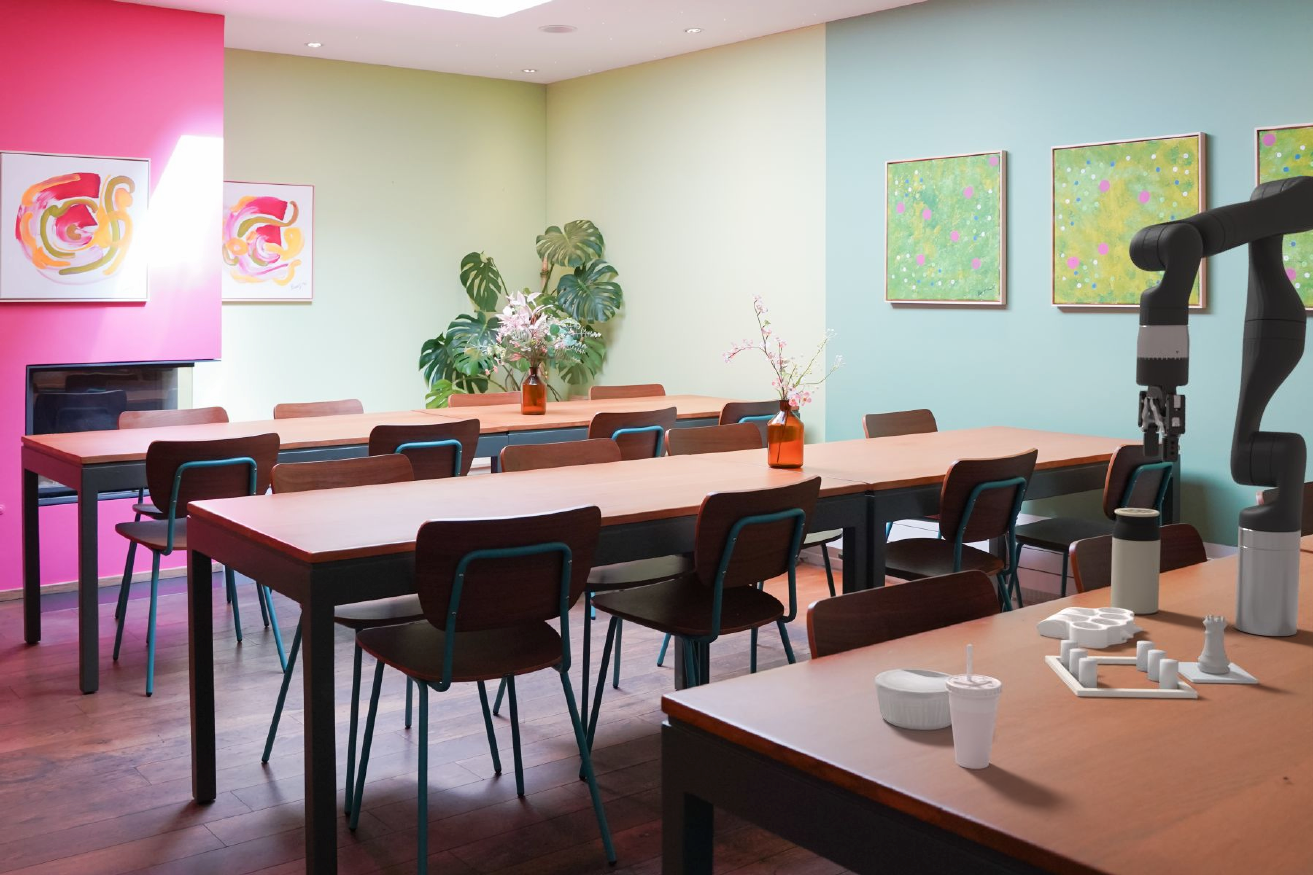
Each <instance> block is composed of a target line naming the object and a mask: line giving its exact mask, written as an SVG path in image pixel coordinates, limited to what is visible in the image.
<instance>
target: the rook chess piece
mask: <svg viewBox="0 0 1313 875" xmlns="http://www.w3.org/2000/svg"><path fill="white" fill-rule="evenodd" d="M1214 616H1215V615H1214V614H1209V615H1208V614H1207V615H1205V619H1204V620H1203V621H1202V623H1203V626H1205V631H1204V635H1205V642H1204V646H1203V649H1202V651H1201V653H1200V655H1199V656H1198V658H1197V661H1198V662H1199V663H1200V664H1198V665H1197V667H1198V669H1199V670H1200V671H1202V672H1205V673H1209V674H1227V673H1228V672H1229V671H1230V668H1229V667H1228V665H1229V664H1230V663H1231V661H1230V659H1229V657H1228V655H1227V653H1226V650H1225V643H1224V641H1225V640H1224V639H1225V636H1226V633H1225V628H1226V627H1227V626H1228V623H1227V621H1226V617H1225V616H1221V615H1218V614H1217V615H1216V617H1214Z"/></svg>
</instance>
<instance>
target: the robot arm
mask: <svg viewBox="0 0 1313 875" xmlns="http://www.w3.org/2000/svg"><path fill="white" fill-rule="evenodd" d="M1312 230H1313V175H1298V176H1291V177H1286V178H1282V179H1276V180H1269V181H1266V182H1262V183H1260V184H1259V185H1257V186H1256V187H1255V188H1254V190H1253V191H1252V193H1251V195H1250V197H1249V200H1248V201H1242V202H1238V203H1231V204H1227V205H1223V206H1218V207H1215V208H1210V209H1208V210H1205V211H1201V212H1199V213H1195V214H1194V215H1191V216H1189V217H1185V218H1182V219H1177V220H1176V219H1175V220H1171V221H1166V222H1161V223H1160V222H1159V223H1156V224H1152V225H1148V226H1145V227H1143V228H1141V229H1140V230H1139V231H1138V232H1136V233H1135V234H1134V236H1133V237H1132V239H1131V240H1130V244H1129V247H1128V252H1129V253H1128V255H1129V257H1130V260H1131V261H1132V264H1133V265H1134V266H1136V267H1137V268H1138V269H1140V270H1142V271H1144V272H1164V273H1163V275H1162V278H1161V280H1160V283H1158V284H1157V285H1155V286H1152V287H1149V288H1146V289H1144V290H1142V292H1141V294H1140V298H1139V315H1138V316H1139V317H1138V319H1139V320H1138V321H1139V322H1138V333H1137V334H1138V335H1137V340H1136V375H1135V384H1137V386H1140V387H1141V386H1142V387H1147V390H1140V391H1139V393H1138V417H1137V426H1138V428H1140V429H1141V432H1142V433H1143V437H1142V438H1143V440H1142V441H1143V443H1142V444H1143V446H1142V454H1143V456H1144V457H1146V458H1147V457H1151V458H1152V457H1154V458H1155V457H1158V456H1159V453H1160V451H1159V450H1160V449H1159V448H1160V447H1159V446H1160V432H1161V436H1162V438H1161V457H1160V458H1161V461H1162V462H1164V463H1177V462H1178V460H1179V438H1181V435H1185V434H1186V408H1187V407H1186V406H1187V405H1186V403H1187V402H1186V394H1177V387H1184V386H1187V385H1188V384H1189V375H1190V373H1189V372H1190V346H1191V345H1190V342H1191V341H1190V339H1191V338H1190V333H1189V332H1190V331H1189V330H1190V329H1189V314H1190V313H1189V312H1190V297H1191V293H1192V291H1193V288H1194V284H1195V282H1196V278H1197V274H1198V271H1199V268H1200V265H1201V262H1202V259H1205V258H1209V257H1213V256H1215V255H1218V254H1222V253H1224V252H1227V251H1231V250H1233V249H1235V248H1237V247H1240V246H1244V245H1246V244H1247V248H1248V249H1247V250H1248V273H1247V288H1246V289H1247V290H1246V292H1247V293H1246V306H1245V313H1244V315H1245V316H1244V320H1243V321H1244V322H1243V323H1244V324H1243V337H1242V351H1241V352H1242V354H1241V355H1242V356H1241V370H1240V372H1241V373H1240V387H1239V388H1240V389H1239V395H1238V403H1237V410H1236V416H1235V421H1234V429H1233V435H1232V440H1231V449H1230V461H1229V464H1230V468H1229V469H1230V474H1231V477H1232V480H1233V481H1234V483H1235V484H1238V485H1240V486H1241V485H1242V486H1249V487H1250V486H1251V487H1263V488H1274V489H1277V488H1278V489H1277V494H1276V496H1275V497H1274V498H1273V499H1270V500H1269V501H1267V502H1264V503H1262V504H1257V505H1251V506H1248V507H1244V508H1243V509H1241V510H1240V511H1239V514H1238V531H1237V532H1238V535H1237V536H1238V537H1237V564H1236V566H1237V567H1236V570H1237V571H1236V594H1235V597H1236V598H1235V621H1234V627H1235V629H1237V631H1238V630H1239V631H1241V632H1244V633H1249V634H1251V635H1253V634H1254V635H1257V636H1258V635H1259V636H1270V637H1289V636H1293V635H1296V634H1297V632H1298V614H1299V611H1298V610H1299V592H1300V589H1299V588H1300V564H1301V537H1302V536H1301V534H1302V517H1303V516H1302V515H1303V508H1304V505H1303V504H1304V492H1305V490H1304V489H1305V480H1306V471H1307V460H1308V455H1307V454H1308V453H1307V452H1308V451H1307V444H1306V440H1305V438H1304V437H1303V435H1301V434H1300V433H1297V432H1291V431H1287V432H1286V431H1269V430H1268V431H1265V430H1260V427H1261V423H1262V419H1263V415H1264V412H1265V410H1266V408H1267V405H1268V404H1269V402H1270V400H1271V399H1272V398H1273V397H1274V394H1275V393H1276V392H1277V390H1278V389H1279V388H1280V387H1281V385H1283V383H1284V382H1285V381H1286V379H1287V378H1288V377H1289V376H1290V375H1291V373H1292V372H1293V371H1294V369H1295V368H1296V366H1298V364H1299V363H1300V361H1301V359H1302V358H1303V356H1304V353H1305V346H1306V336H1307V334H1306V333H1307V322H1308V321H1307V320H1308V315H1307V309H1306V307H1305V304H1304V302H1303V300H1302V298H1301V296H1300V295H1299V293H1298V291H1297V289H1296V288H1295V286H1294V284H1293V283H1292V281H1291V279H1290V278H1289V276H1288V274H1287V271H1286V268H1285V265H1284V258H1283V257H1284V256H1283V255H1284V254H1283V243H1284V237H1285V236H1287V235H1294V234H1295V235H1296V234H1302V233H1306V232H1310V231H1312Z"/></svg>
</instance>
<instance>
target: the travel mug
mask: <svg viewBox="0 0 1313 875" xmlns="http://www.w3.org/2000/svg"><path fill="white" fill-rule="evenodd" d="M1114 513H1115V516H1116V521H1115V524H1114V525H1113V527H1112V539H1111V540H1112V541H1111V544H1112V546H1111V577H1110V578H1111V580H1110V581H1111V583H1110V608H1121V609H1126V610H1130V611H1132V612H1133V613H1134V615H1145V616H1146V615H1151V614H1154V613H1158V611H1159V602H1160V601H1159V597H1160V596H1159V595H1160V571H1161V569H1160V566H1161V565H1160V563H1161V537H1162V536H1161V532H1162V530H1161V528H1160V527H1159V524H1158V517H1159V515H1160V511H1158V510H1155V509H1151V508H1140V507H1138V508H1137V507H1136V508H1135V507H1124V508H1116V509H1114Z"/></svg>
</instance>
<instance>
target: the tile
mask: <svg viewBox="0 0 1313 875" xmlns="http://www.w3.org/2000/svg"><path fill="white" fill-rule="evenodd" d="M1178 662H1179V666H1178V673H1179V674H1181V675H1182V676H1183V677H1185V678H1186V679H1187V680H1189V681H1190V682H1191V683H1196V684H1253V685H1254V684H1256V685H1257V684H1259V679H1257V678H1256V677H1254V676H1252V675H1251V674H1250V673H1249V672H1247V671H1245V670H1244V669H1243V668H1242V667H1240V666H1238V665H1237V664H1235V663H1234V662H1230V664H1229V665H1228V667H1229V668H1230V671H1229V672H1228V673H1227V674H1209V673H1205V672H1202V671H1200V670H1199V669H1198V667H1197V665H1198V664H1200V663H1199V662H1197V661H1196V662H1192V661H1189V662H1188V661H1187V662H1186V661H1178Z"/></svg>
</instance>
